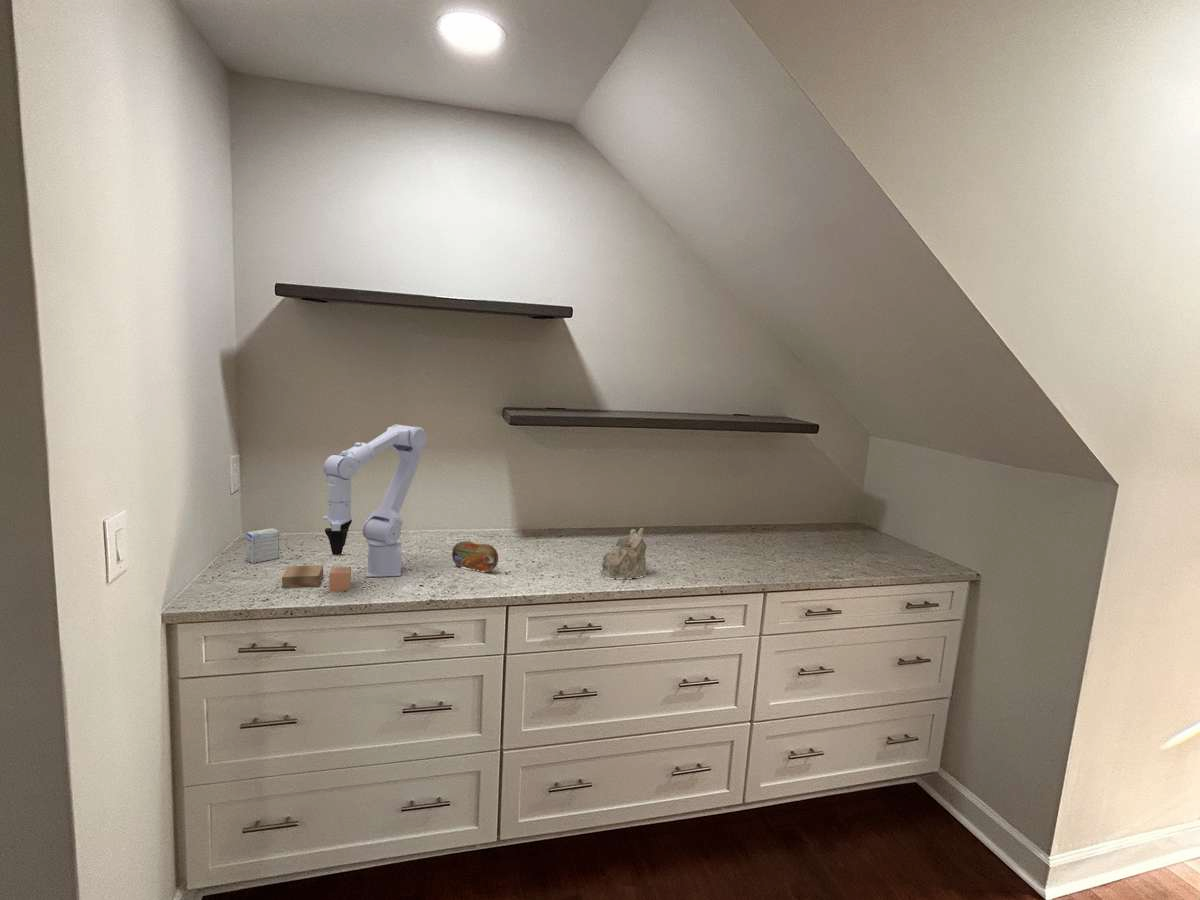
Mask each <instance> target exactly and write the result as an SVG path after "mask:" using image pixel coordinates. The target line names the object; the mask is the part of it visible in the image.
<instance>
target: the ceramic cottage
mask: <svg viewBox="0 0 1200 900" xmlns="http://www.w3.org/2000/svg"><path fill="white" fill-rule="evenodd" d="M644 530H645V529H644V527H641V528H639V530H638V531H637V530H636V529H633V528H632V529H631V530H630V531H629V536H621V537H618V539H617V542H616V543H615V544H614V545H613V546H612V549H611V551H610V552H606V553H605V554H604V556H603V557H602V560H603V561H602V564H601V569H600V570H599V574H600V573H601V574H603V575H604V576H606V577H609V578H636V577H640V576H644V575H646V574H647V575H648V569H647V567H646V562H647V561H646V560H647V559H646V550H647V547H648V545H647V544H646V542H645V541H644ZM603 575H602V576H603ZM647 575H646V576H647ZM604 576H603V577H604Z"/></svg>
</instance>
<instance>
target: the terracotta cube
mask: <svg viewBox="0 0 1200 900" xmlns="http://www.w3.org/2000/svg"><path fill="white" fill-rule="evenodd" d="M328 578H329V580H328V581H329V582H328V584H329V586H328V589H329V590H328V591H329V592H345V590H349V591H350V590H351V586H352V566H342V567H341V566H339V567H334V566H333V567H331V568H330V570H329V573H328Z"/></svg>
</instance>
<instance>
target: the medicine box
mask: <svg viewBox="0 0 1200 900" xmlns="http://www.w3.org/2000/svg"><path fill="white" fill-rule="evenodd" d="M245 548H246V550H245V552H246V553H245V554H246V561H247V560H248V561H247V562H249V561H250V562H251V563H250V562H249V563H250V564H252V563H253V564H257V563H256V562H258V563H263V562H267V560H268V561H271V560H276V559H280V554H281V553H280V531H279V530H277V529H276V528H272V527H271V528H266V529H259V530H253V531H247V532H246V533H245ZM262 561H263V562H262Z"/></svg>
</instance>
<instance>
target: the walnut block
mask: <svg viewBox="0 0 1200 900" xmlns="http://www.w3.org/2000/svg"><path fill="white" fill-rule="evenodd" d="M323 577H324V564H320V565H319V564H318V565H289V566H287V567H286V569H285V571H284V573H283V574H282V577H281V588H282V589H292V588H293V589H295V588H296V589H297V588H313V587H314V588H315V587H316V588H317V587H318V588H319V587H320V585H321V582H322V580H323Z"/></svg>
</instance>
